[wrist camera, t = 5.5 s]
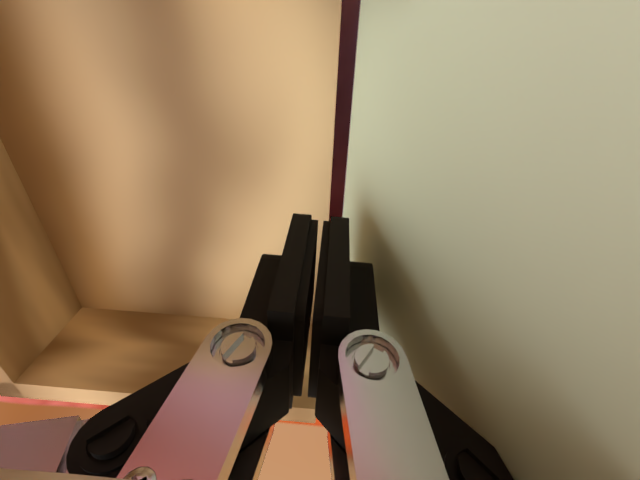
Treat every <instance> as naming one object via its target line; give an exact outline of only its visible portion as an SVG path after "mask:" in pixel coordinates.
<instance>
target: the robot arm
mask: <svg viewBox="0 0 640 480" xmlns="http://www.w3.org/2000/svg"><path fill="white" fill-rule="evenodd" d="M317 234H318V220H312V215H309V214H297V213H293V215H292V219H291V223H290V227H289V230H288V234H287V238H286V241H285V245H284V249H283V253H282V255H272V254H263V255H262V256H261V258H260V261H259V264H258V267H257V270H256V273H255V275H254V278H253V281H252V284H251V287H250V290H249V292H248V295H247V298H246V301H245V304H244V307H243V310H242V312H241V315H240V318H238V319H231V320H228V321H226V322H223V323H221V324H219V325H218V326H216V327H215V328H213V329H212V330H211V331H210V333H209V334H208V335H207V336H206V337H205V339H204V341H203V342H202V344H201V345H200V347H199V348H198V350H197V352H196V353H195V355H194V356H193V358H192V360H191V361H190V362H188V363H187V364H185V365H183V366H181V367H179V368H178V369H176V370H174V371H172V372H170V373H169V374H167V375H165V376H163V377H161V378H159V379H158V380H156V381H154V382H152V383H150V384H149V385H147V386H145V387H143V388H141V389H140V390H138V391H136V392H134V393H132V394H130V395H129V396H127V397H125V398H123V399H121V400H120V401H118V402H116V403H114V404H112V405H111V406H109V407H107V408H105V409H103V410H102V411H100V412H99V413H97V414H96V415H95V416H93V417H92V418H90V419H87V420H81V418H80V417H79V416H71V417H64V418H57V419H48V420H40V421H32V422H25V423H17V424H9V425H2V426H0V480H258V477H259V474H260V471H261V468H262V465H263V462H264V459H265V456H266V453H267V450H268V446H269V444H270V441H271V438H272V435H273V431H274V425H275V423H276V422H278V421H279V420H280V419H281V418H283V417H284V416H285V415H287V414H288V413H289V409H292V403H293V396H301V395H302V388H303V380H304V371H305V363H306V354H307V346H308V338H309V329H310V321H311V312H312V304H313V295H314V281H315V265H316V250H317ZM308 397H311V398H316V403H315V416H316V418H317V419H318V420H319V421H320V422H321V423H322V425H323V426H324V427H325V428H326V429H327V430H328V434H327V438H328V449H329V459H330V469H331V480H514V479H513V477H512V475H511V474H510V472H509V470H508V469H507V467H506V465H505V464H504V462H503V460H502V459H501V457H500V455H499V454H498V452H497V450H496V449H495V447H494V446H492V445H491V444H490V443H489V442H488V441H487V440H485V439H484V438H483V437H482V436H481V435H479V434H478V433H477V432H476V431H475V430H473V429H472V428H471V427H470V426H469V425H468V424H466V423H465V422H464V421H463V420H462V419H460V418H459V417H458V416H457V415H456V414H455V413H453V412H452V411H451V410H450V409H449V408H447V407H446V406H445V405H444V404H443V403H442V402H440V401H439V400H438V399H437V398H436V397H434V396H433V395H432V394H431V393H430V392H429V391H427V390H426V389H425V388H424V387H423V386H421V385H420V384H419V383H418V382H417V381H415V380H414V377H413V374H412V371H411V368H410V365H409V362H408V359H407V357H406V354H405V352H404V350H403V348H402V347H401V345H400V344H399V343H398V342H397V341H396V340H395V339H393V338H392V337H390V336H389V335H387V334H385V333H383V332H380V330H379V320H378V310H377V301H376V291H375V281H374V271H373V264H372V263H365V262H353V261H350V240H349V218H344V217H332V216H331V221H323V229H322V238H321V247H320V255H319V264H318V273H317V282H316V291H315V300H314V309H313V320H312V335H311V351H310V366H309V382H308Z"/></svg>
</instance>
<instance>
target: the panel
mask: <svg viewBox="0 0 640 480" xmlns="http://www.w3.org/2000/svg"><path fill="white" fill-rule="evenodd" d="M342 217H344V218H349V240H350V261H353V262H365V263H372V264H373V271H374V281H375V291H376V301H377V310H378V320H379V330H380V332H383V333H385V334H387V335H389V336H390V337H392V338H393V339H395V340H396V341H397V342H398V343H399V344H400V345H401V347H402V348H403V350H404V352H405V354H406V357H407V359H408V362H409V365H410V368H411V371H412V374H413V377H414V380H415V381H417V382H418V383H419V384H420V385H421V386H423V387H424V388H425V389H426V390H427V391H429V392H430V393H431V394H432V395H433V396H434V397H436V398H437V399H438V400H439V401H440V402H442V403H443V404H444V405H445V406H446V407H447V408H449V409H450V410H451V411H452V412H453V413H455V414H456V415H457V416H458V417H459V418H460V419H462V420H463V421H464V422H465V423H466V424H468V425H469V426H470V427H471V428H472V429H473V430H475V431H476V432H477V433H478V434H479V435H481V436H482V437H483V438H484V439H485V440H487V441H488V442H489V443H490V444H491V445H492V446H494V447H495V449H496V450H497V452H498V454H499V455H500V457H501V459H502V460H503V462H504V464H505V465H506V467H507V469H508V470H509V472H510V474H511V475H512V477H513V479H514V480H640V0H360V7H359V19H358V31H357V43H356V55H355V67H354V79H353V91H352V103H351V115H350V127H349V139H348V151H347V163H346V175H345V187H344V199H343V212H342Z"/></svg>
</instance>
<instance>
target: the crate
mask: <svg viewBox="0 0 640 480" xmlns="http://www.w3.org/2000/svg"><path fill="white" fill-rule="evenodd" d="M341 12H342V0H0V395H1V396H8V397H19V398H31V399H42V400H54V401H65V402H77V403H88V404H100V405H112V404H114V403H116V402H118V401H120V400H121V399H123V398H125V397H127V396H129V395H130V394H132V393H134V392H136V391H138V390H140V389H141V388H143V387H145V386H147V385H149V384H150V383H152V382H154V381H156V380H158V379H159V378H161V377H163V376H165V375H167V374H169V373H170V372H172V371H174V370H176V369H178V368H179V367H181V366H183V365H185V364H187V363H188V362H190V361H191V360H192V358H193V356H194V355H195V353H196V352H197V350H198V348H199V347H200V345H201V344H202V342H203V341H204V339H205V337H206V336H207V335H208V334H209V333H210V331H211V330H212V329H213V328H215V327H216V326H218V325H219V324H221V323H223V322H226V321H228V320H231V319H238V318H240V315H241V312H242V310H243V307H244V304H245V301H246V298H247V295H248V292H249V290H250V287H251V284H252V281H253V278H254V275H255V273H256V270H257V267H258V264H259V261H260V258H261V256H262V255H263V254H272V255H282V253H283V249H284V245H285V241H286V238H287V234H288V230H289V227H290V223H291V219H292V215H293V213H297V214H309V215H312V220H318V234H317V250H316V265H315V281H314V295H313V304H312V312H311V321H310V329H309V338H308V346H307V354H306V363H305V371H304V380H303V388H302V395H301V396H293V403H292V409H289V413H288V414H287V415H285V416H284V417H283V418H281V419H280V420H283V421H295V422H306V423H315V420H316V416H315V403H316V398H311V397H308V382H309V366H310V351H311V335H312V320H313V309H314V300H315V291H316V282H317V273H318V264H319V255H320V247H321V238H322V229H323V221H329V214H330V198H331V181H332V164H333V147H334V130H335V113H336V96H337V79H338V62H339V46H340V29H341Z"/></svg>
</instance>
